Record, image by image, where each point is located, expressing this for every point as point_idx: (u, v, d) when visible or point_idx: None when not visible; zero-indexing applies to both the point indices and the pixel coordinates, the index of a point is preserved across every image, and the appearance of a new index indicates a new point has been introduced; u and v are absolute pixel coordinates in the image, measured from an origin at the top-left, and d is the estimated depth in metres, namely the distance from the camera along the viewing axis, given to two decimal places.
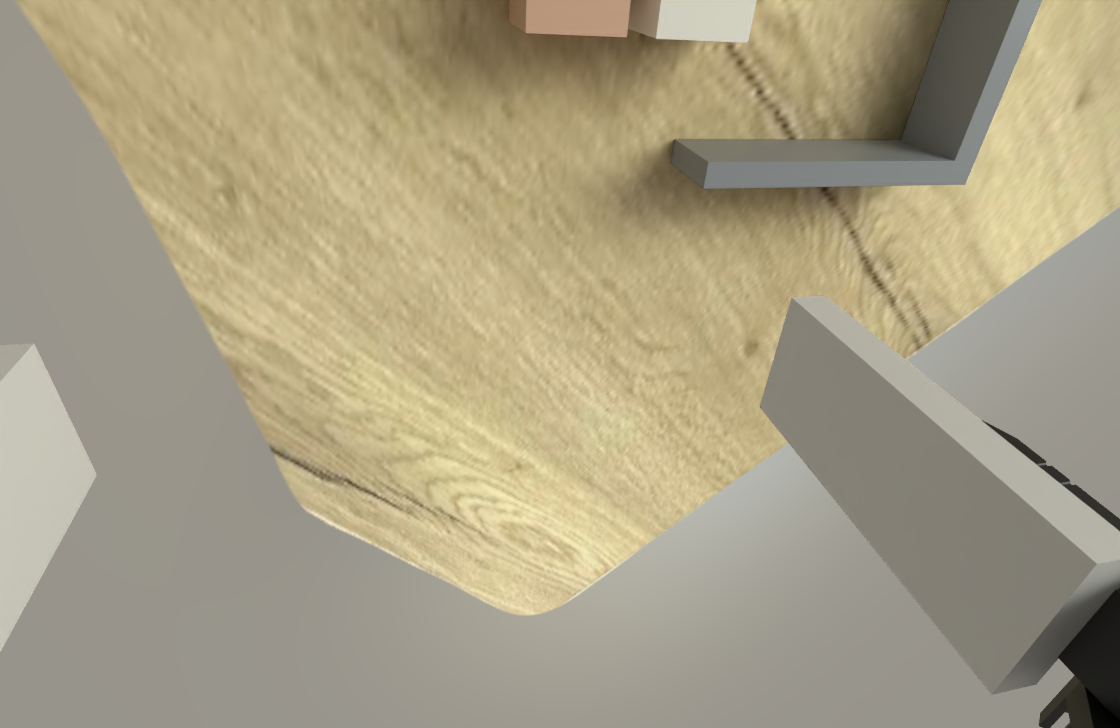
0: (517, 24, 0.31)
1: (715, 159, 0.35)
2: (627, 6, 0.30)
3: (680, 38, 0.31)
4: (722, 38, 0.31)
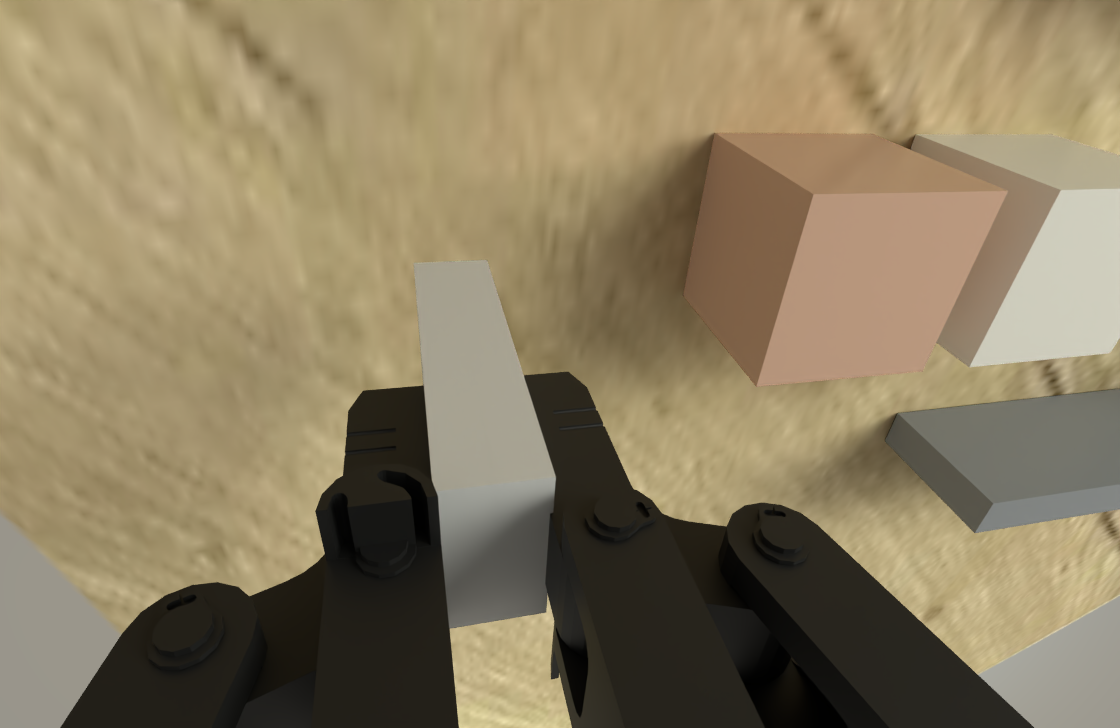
0: (718, 334, 0.18)
1: (997, 490, 0.22)
2: (938, 330, 0.16)
3: (1008, 361, 0.17)
4: (1073, 353, 0.18)
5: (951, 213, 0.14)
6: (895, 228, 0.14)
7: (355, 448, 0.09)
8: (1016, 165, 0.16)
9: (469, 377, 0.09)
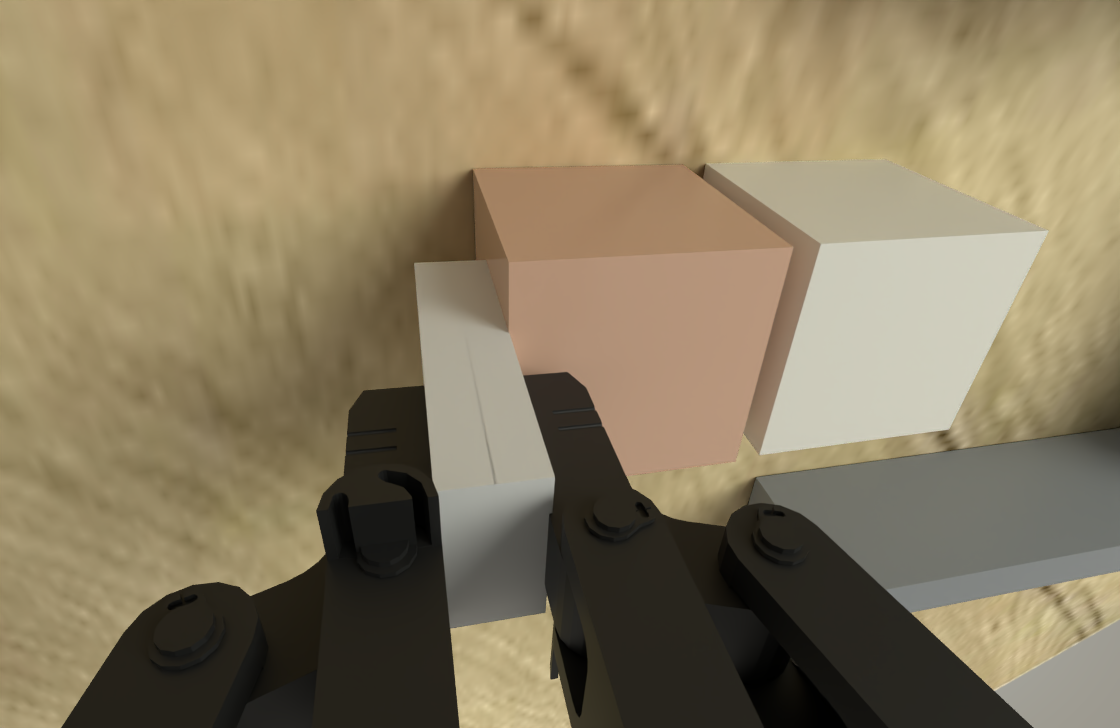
0: None
1: None
2: (742, 415, 0.13)
3: (811, 446, 0.14)
4: (898, 432, 0.14)
5: (719, 277, 0.11)
6: (643, 299, 0.11)
7: (356, 448, 0.09)
8: (795, 206, 0.13)
9: (469, 377, 0.09)
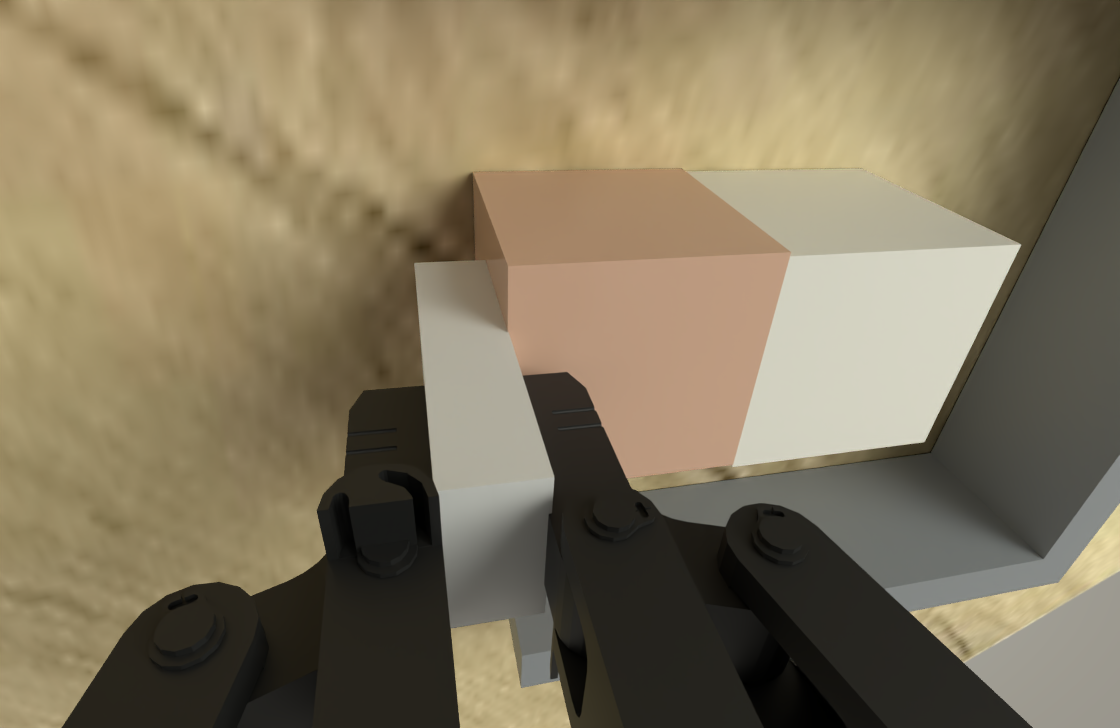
0: None
1: (543, 632, 0.16)
2: (740, 419, 0.13)
3: (784, 458, 0.14)
4: (873, 444, 0.14)
5: (717, 282, 0.11)
6: (642, 303, 0.11)
7: (356, 448, 0.09)
8: (767, 217, 0.13)
9: (470, 377, 0.09)
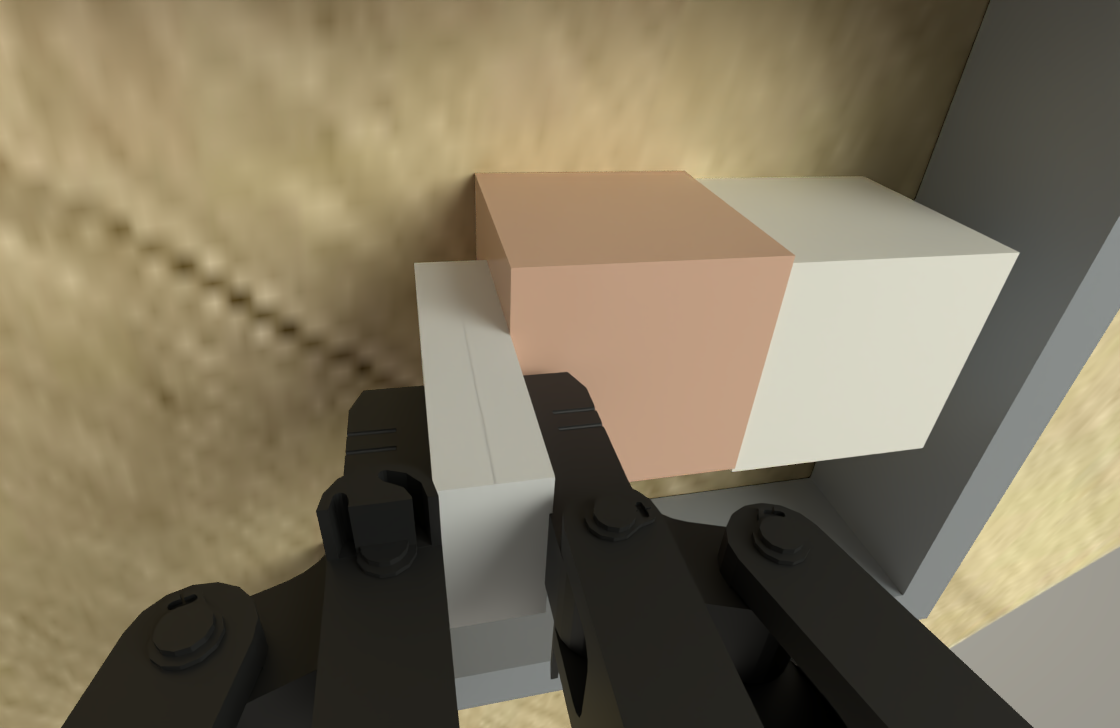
0: None
1: None
2: (742, 423, 0.13)
3: (784, 463, 0.14)
4: (872, 450, 0.14)
5: (721, 285, 0.11)
6: (645, 306, 0.11)
7: (355, 448, 0.09)
8: (768, 223, 0.13)
9: (469, 377, 0.09)
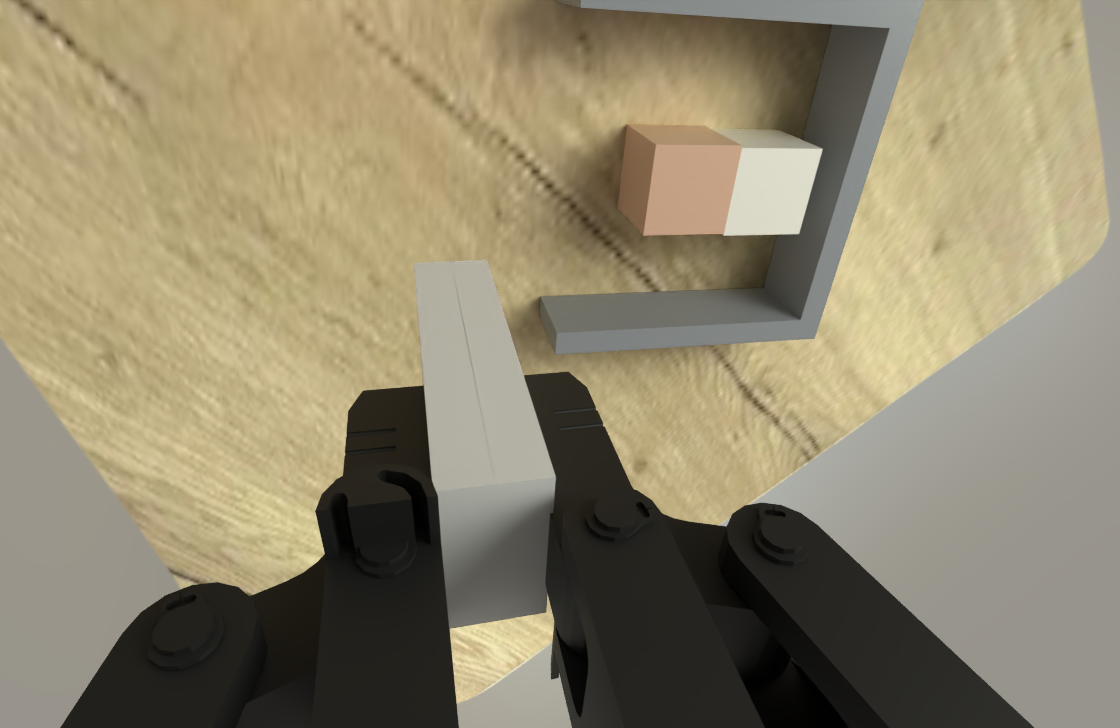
0: (630, 219, 0.37)
1: (565, 328, 0.38)
2: (726, 212, 0.36)
3: (743, 234, 0.37)
4: (778, 232, 0.37)
5: (718, 154, 0.34)
6: (694, 160, 0.34)
7: (355, 448, 0.09)
8: (736, 140, 0.35)
9: (469, 377, 0.09)
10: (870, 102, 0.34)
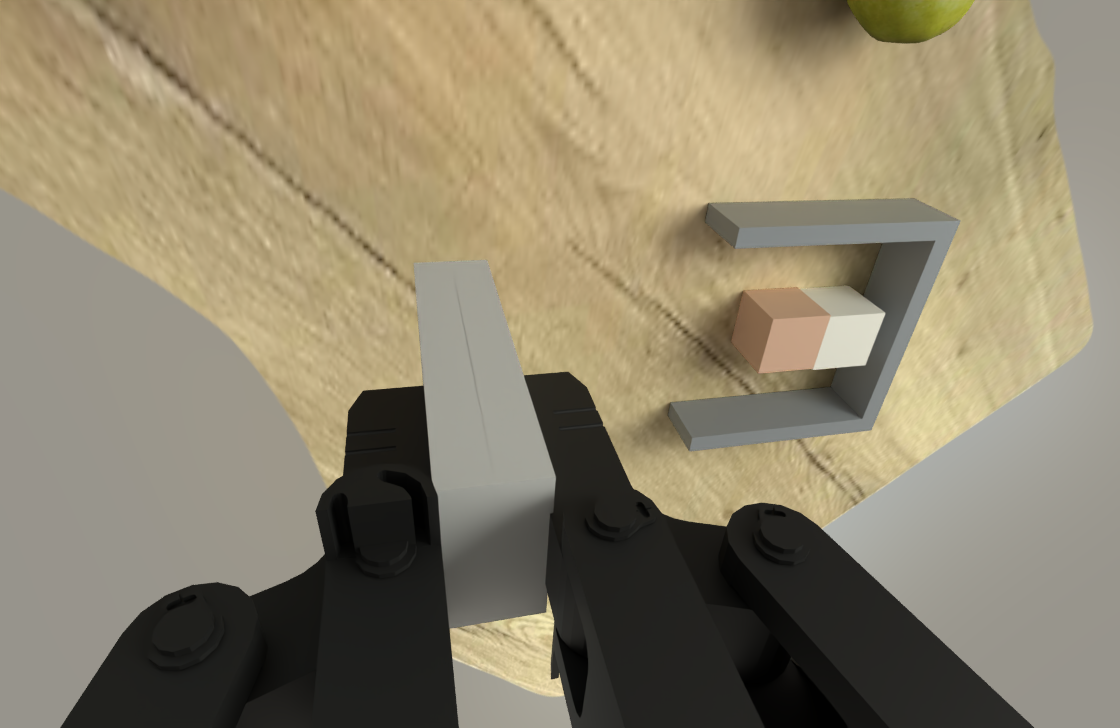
0: (745, 356, 0.52)
1: (697, 433, 0.53)
2: (816, 355, 0.50)
3: (826, 368, 0.52)
4: (850, 365, 0.52)
5: (814, 322, 0.48)
6: (797, 326, 0.48)
7: (355, 448, 0.09)
8: (823, 305, 0.50)
9: (469, 377, 0.09)
10: (920, 283, 0.49)
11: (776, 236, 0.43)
